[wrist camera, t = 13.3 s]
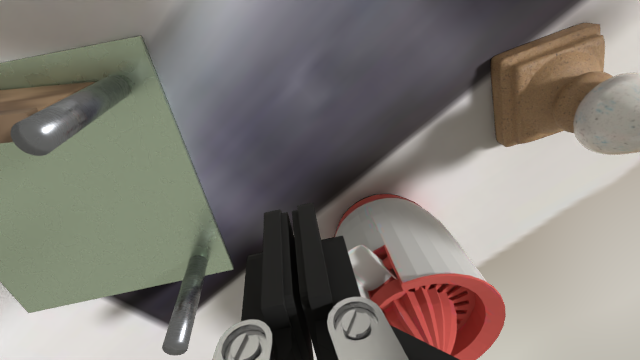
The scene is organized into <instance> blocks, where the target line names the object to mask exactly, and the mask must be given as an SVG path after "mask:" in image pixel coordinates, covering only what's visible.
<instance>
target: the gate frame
mask: <svg viewBox="0 0 640 360" xmlns="http://www.w3.org/2000/svg"><path fill="white" fill-rule="evenodd" d="M86 82H95V83H93V84H91V85H89V86H87V87H86V88H84V89H82V90H80V91H78V92H76V93H74V94H72V95H70V96H68V97H66V98H64V99H62V100H60V101H58V102H56V103H54V104H52V105H50V106H48V107H46V108H45V109H43V110H41V111H39V112H37V113H35V114H33V115H31V116H29V117H27V118H25V119H23V120H21V121H19V122H17V123H16V124H14V125H13V126H12V128H11V132H10V134H11V138H12V140H13V142H9V143H0V282H1V283H2V284H3V285H4V286H5V287H6V288H7V289H8V291H9V292H10V293H11V294H12V295H13V296H14V297H15V298H16V300H17V301H18V302H19V303H20V304H21V305H22V306H23V307H24V308H25V310H26V311H27V312H28V313H31V312H36V311H41V310H45V309H50V308H55V307H59V306H64V305H69V304H73V303H78V302H83V301H87V300H92V299H97V298H102V297H106V296H111V295H116V294H120V293H125V292H130V291H134V290H139V289H144V288H148V287H153V286H158V285H162V284H167V283H172V282H176V281H181V280H183V282H182V285H181V288H180V291H179V295H178V298H177V301H176V304H175V307H174V311H173V314H172V317H171V320H170V324H169V327H168V330H167V333H166V337H165V340H164V343H163V346H162V349H163V351H164V352H165V353H167V354H169V355H181V354H183V353H185V352H186V351H187V349H188V344H189V340H190V336H191V332H192V327H193V323H194V319H195V315H196V311H197V306H198V302H199V298H200V294H201V289H202V285H203V281H204V277H205V275H209V274H214V273H219V272H223V271H228V270H233V269H234V266H233V263H232V261H231V258H230V256H229V253H228V251H227V248H226V246H225V243H224V241H223V238H222V236H221V233H220V231H219V228H218V226H217V223H216V221H215V218H214V216H213V213H212V211H211V208H210V206H209V203H208V201H207V198H206V196H205V193H204V191H203V188H202V186H201V183H200V181H199V178H198V176H197V173H196V171H195V168H194V166H193V163H192V161H191V158H190V156H189V153H188V151H187V148H186V146H185V143H184V141H183V138H182V136H181V133H180V131H179V128H178V126H177V123H176V121H175V118H174V116H173V113H172V111H171V108H170V106H169V103H168V101H167V98H166V96H165V93H164V91H163V88H162V86H161V83H160V81H159V78H158V76H157V73H156V71H155V68H154V66H153V63H152V61H151V58H150V56H149V53H148V51H147V48H146V46H145V43H144V41H143V38H142V36H137V37H132V38H127V39H121V40H116V41H111V42H106V43H101V44H96V45H90V46H85V47H80V48H75V49H70V50H65V51H59V52H54V53H49V54H44V55H39V56H34V57H29V58H23V59H18V60H13V61H8V62H3V63H0V90H8V89H19V88H30V87H41V86H52V85H63V84H74V83H86Z"/></svg>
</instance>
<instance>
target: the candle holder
mask: <svg viewBox="0 0 640 360" xmlns="http://www.w3.org/2000/svg"><path fill="white" fill-rule="evenodd" d="M604 54H605V41H604V39H603V35H600V24H592V23H581V24H578V25H575V26H572V27H569V28H567V29H564V30H561V31H558V32H556V33H553V34H550V35H548V36H545V37H542V38H540V39H537V40H534V41H532V42H529V43H526V44H524V45H521V46H518V47H516V48H513V49H510V50H508V51H505V52H503V53H501V54H498V55H496V56H494V57H493V58H492V59H491V81H492V94H493V108H494V121H495V132H496V139H497V141H498V142H499V143H500V144H502V145H504V146H505V147H509V146H513V145H516V144H522V143H527V142H531V141H535V140H538V139H541V138H544V137H547V136H549V135H552V134H555V133H558V132H561V131H564V130H565V131H567V132H571V133H575V136H576V138H577V140H578V141H579V142H580V143H581V145H582V146H584V147H585V148H587V149H589V150H591V151H593V152H596V153H600V154H607V155H620V154H629V153H637V152H640V73H625V74H620V75H616V76H611V75H610V74H608V73H605V72H603V68H604Z"/></svg>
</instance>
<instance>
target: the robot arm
mask: <svg viewBox="0 0 640 360" xmlns="http://www.w3.org/2000/svg"><path fill="white" fill-rule="evenodd" d="M297 207H298V210H296V211H292V216H293V227H294V235H293V231H292V227H291V223H290V219H289V216H288V213H287V212H286V213H282V212H281V210H275V211H270V212H266V213H264V233H263V253H258V254H253V255H249V256H248V257H247V265H246V276H245V287H244V297H243V308H242V319H241V322H239V323H237V324H235V325H233V326H232V327H231V328H229V329H228V330H227V331H226V332H225V333H224V334H223V336H222V337H221V338H220V340H219V342H218V344H217V346H216V350H215V353H214V356H213V359H212V360H314V359H313V350H312V343H313V346H314V350H315V353H316V357H317V360H460V359H458V358H456V357H454V356H452V355H450V354H448V353H446V352H444V351H442V350H440V349H438V348H436V347H434V346H432V345H430V344H428V343H426V342H424V341H422V340H420V339H418V338H416V337H414V336H412V335H410V334H408V333H406V332H404V331H402V330H400V329H398V328H396V327H394V326H392V325H390V324H389V323H388V321H387V319H386V317H385V315H384V313H383V312H382V310H381V309H380V307H379V306H378V305H377V304H376V303H375V302H373V301H372V300H370V299H367V298H364V297H361V295H360V292H359V288H358V285H357V281H356V278H355V274H354V271H353V268H352V264H351V261H350V257H349V254H348V251H347V247H346V244H345V240H344V237H343V235H342V236H338V237H333V238H328V239H324V240H321V238H320V233H319V229H318V224H317V219H316V214H315V210H314V205H313V203H309V204H304V205H299V206H297ZM311 339H312V341H311Z"/></svg>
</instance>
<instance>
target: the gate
mask: <svg viewBox="0 0 640 360" xmlns="http://www.w3.org/2000/svg"><path fill="white" fill-rule="evenodd" d="M93 83H95V82H86V83H74V84H63V85H52V86H41V87H30V88H19V89H8V90H0V143H9V142H13V140H12V138H11V134H10V132H11V128H12V126H13V125H14V124H16V123H17V122H19V121H21V120H23V119H25V118H27V117H29V116H31V115H33V114H35V113H37V112H39V111H41V110H43V109H45V108H46V107H48V106H50V105H52V104H54V103H56V102H58V101H60V100H62V99H64V98H66V97H68V96H70V95H72V94H74V93H76V92H78V91H80V90H82V89H84V88H86V87H87V86H89V85H91V84H93Z"/></svg>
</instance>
